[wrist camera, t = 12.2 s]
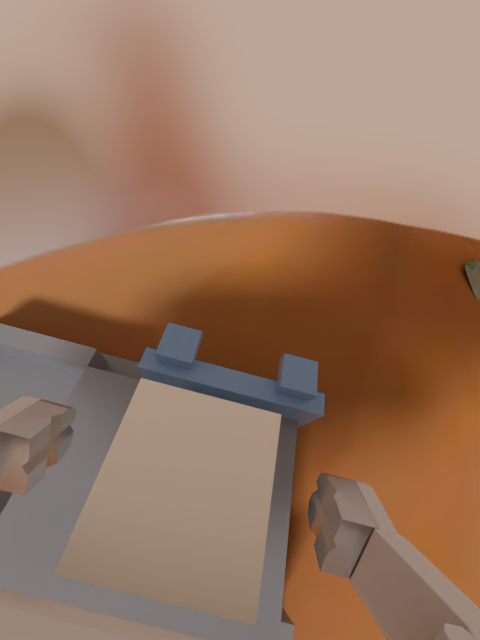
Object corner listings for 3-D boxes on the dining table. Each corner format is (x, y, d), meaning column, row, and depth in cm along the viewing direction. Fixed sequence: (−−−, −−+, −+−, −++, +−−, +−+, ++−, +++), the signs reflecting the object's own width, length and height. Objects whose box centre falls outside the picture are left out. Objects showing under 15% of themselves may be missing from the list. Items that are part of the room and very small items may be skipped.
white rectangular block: (239, 444, 14) (281, 414, 7) (220, 539, 12) (256, 626, 5) (167, 426, 14) (141, 377, 7) (135, 517, 12) (53, 575, 5)
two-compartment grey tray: (292, 398, 17) (333, 365, 12) (268, 641, 11) (327, 776, 6) (-8, 319, 16) (-95, 252, 11) (-194, 526, 11) (-523, 568, 6)
